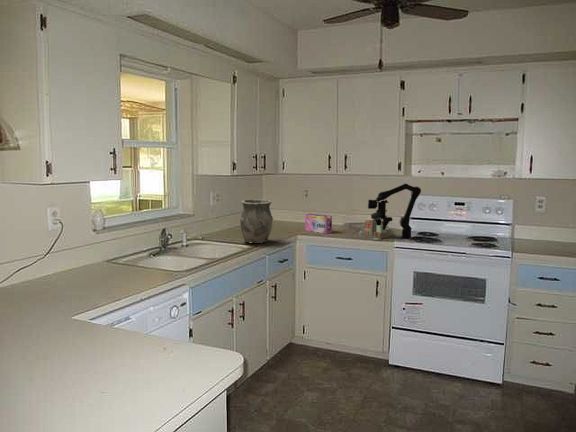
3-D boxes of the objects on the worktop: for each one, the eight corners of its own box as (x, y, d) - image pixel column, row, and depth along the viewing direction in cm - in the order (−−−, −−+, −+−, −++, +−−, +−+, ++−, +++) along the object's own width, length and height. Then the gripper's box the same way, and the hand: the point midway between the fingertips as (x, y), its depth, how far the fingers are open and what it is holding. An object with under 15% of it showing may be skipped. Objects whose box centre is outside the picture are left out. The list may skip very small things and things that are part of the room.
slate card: (383, 240, 348) (383, 239, 348) (375, 240, 345) (375, 239, 345) (377, 238, 354) (377, 237, 354) (369, 239, 351) (369, 238, 351)
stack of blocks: (375, 231, 389) (376, 216, 387) (383, 232, 385) (383, 217, 383) (364, 235, 371) (365, 219, 369) (372, 235, 367) (372, 220, 366)
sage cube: (385, 232, 357) (386, 225, 357) (380, 232, 355) (380, 226, 354) (381, 231, 362) (381, 225, 361) (376, 232, 360) (376, 225, 359)
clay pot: (236, 244, 331) (236, 201, 327) (245, 238, 353) (244, 198, 349) (268, 245, 327) (268, 202, 323) (275, 239, 349) (274, 199, 345)
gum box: (333, 232, 380) (333, 216, 378) (327, 234, 374) (327, 217, 373) (310, 229, 396) (311, 213, 395) (304, 230, 391) (304, 214, 389)
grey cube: (391, 235, 369) (391, 229, 368) (386, 235, 367) (386, 229, 366) (387, 234, 373) (387, 228, 373) (382, 234, 371) (382, 228, 371)
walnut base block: (388, 237, 357) (388, 232, 357) (380, 238, 354) (380, 233, 353) (382, 236, 364) (382, 231, 364) (373, 237, 361) (373, 231, 360)
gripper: (365, 208, 361) (365, 228, 363) (380, 210, 344) (380, 231, 346) (377, 207, 366) (376, 227, 368) (393, 209, 349) (392, 230, 351)
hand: (381, 229), depth 358 cm, fingers open, 6 cm apart
